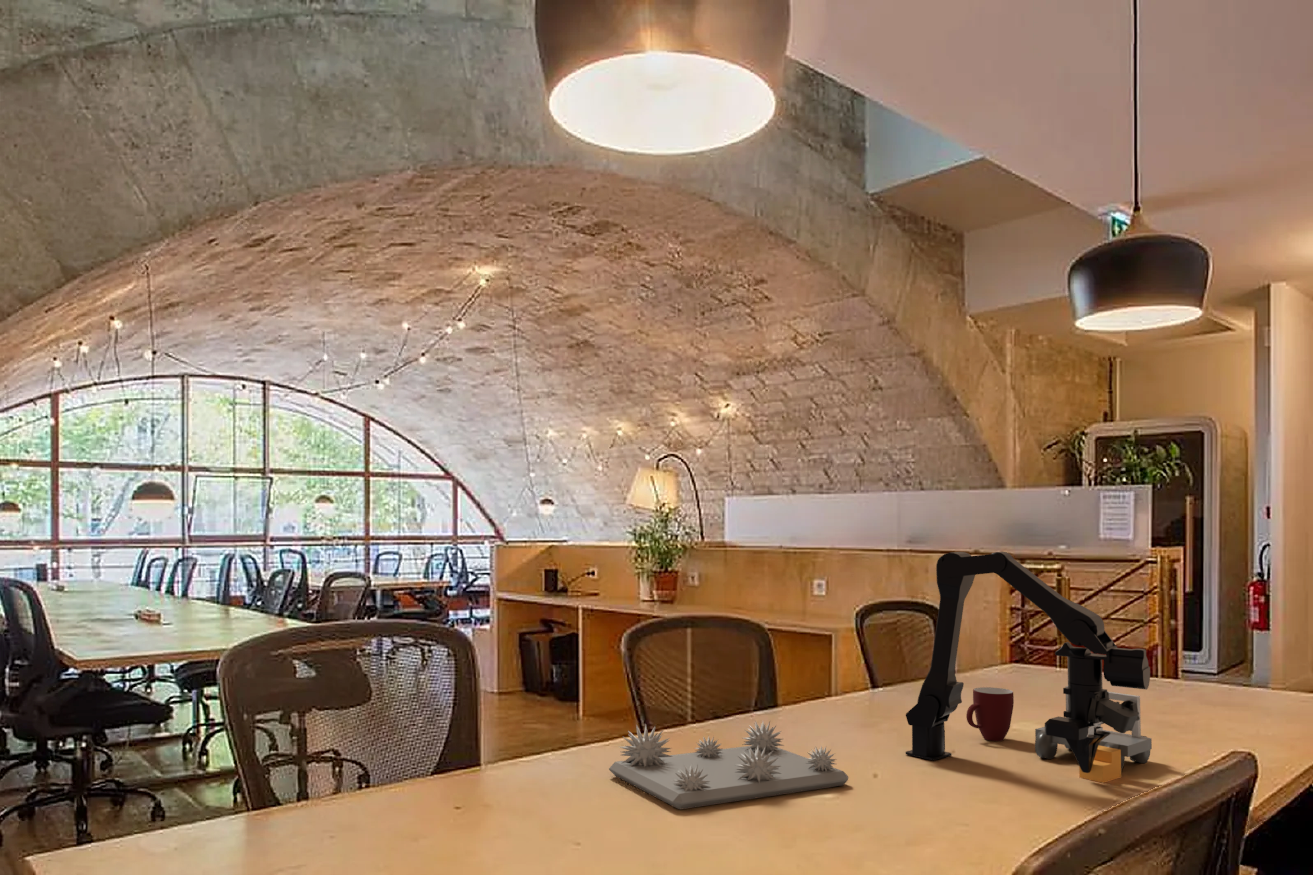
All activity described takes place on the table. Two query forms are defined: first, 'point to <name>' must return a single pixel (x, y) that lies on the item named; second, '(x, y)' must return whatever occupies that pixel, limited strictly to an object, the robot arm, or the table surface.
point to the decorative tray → (723, 770)
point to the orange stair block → (1104, 765)
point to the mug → (991, 712)
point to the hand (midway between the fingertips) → (1086, 772)
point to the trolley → (1127, 743)
